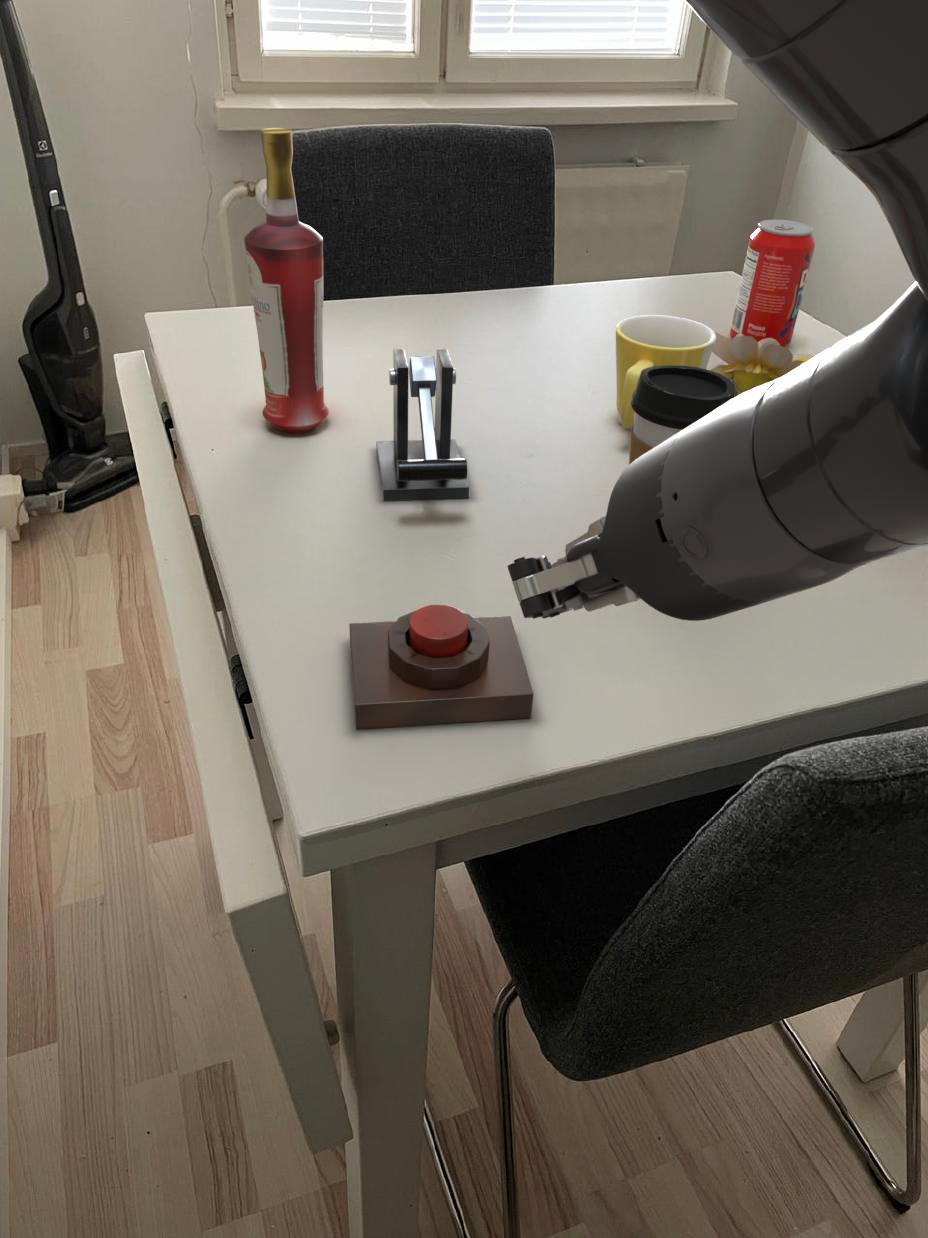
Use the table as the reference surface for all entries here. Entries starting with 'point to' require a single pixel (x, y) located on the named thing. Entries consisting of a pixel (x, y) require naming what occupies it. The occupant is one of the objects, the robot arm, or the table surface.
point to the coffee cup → (673, 403)
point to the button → (438, 631)
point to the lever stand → (414, 449)
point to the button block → (437, 676)
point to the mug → (656, 351)
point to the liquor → (287, 297)
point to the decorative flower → (754, 360)
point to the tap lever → (427, 430)
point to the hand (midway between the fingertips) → (545, 597)
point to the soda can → (773, 281)
